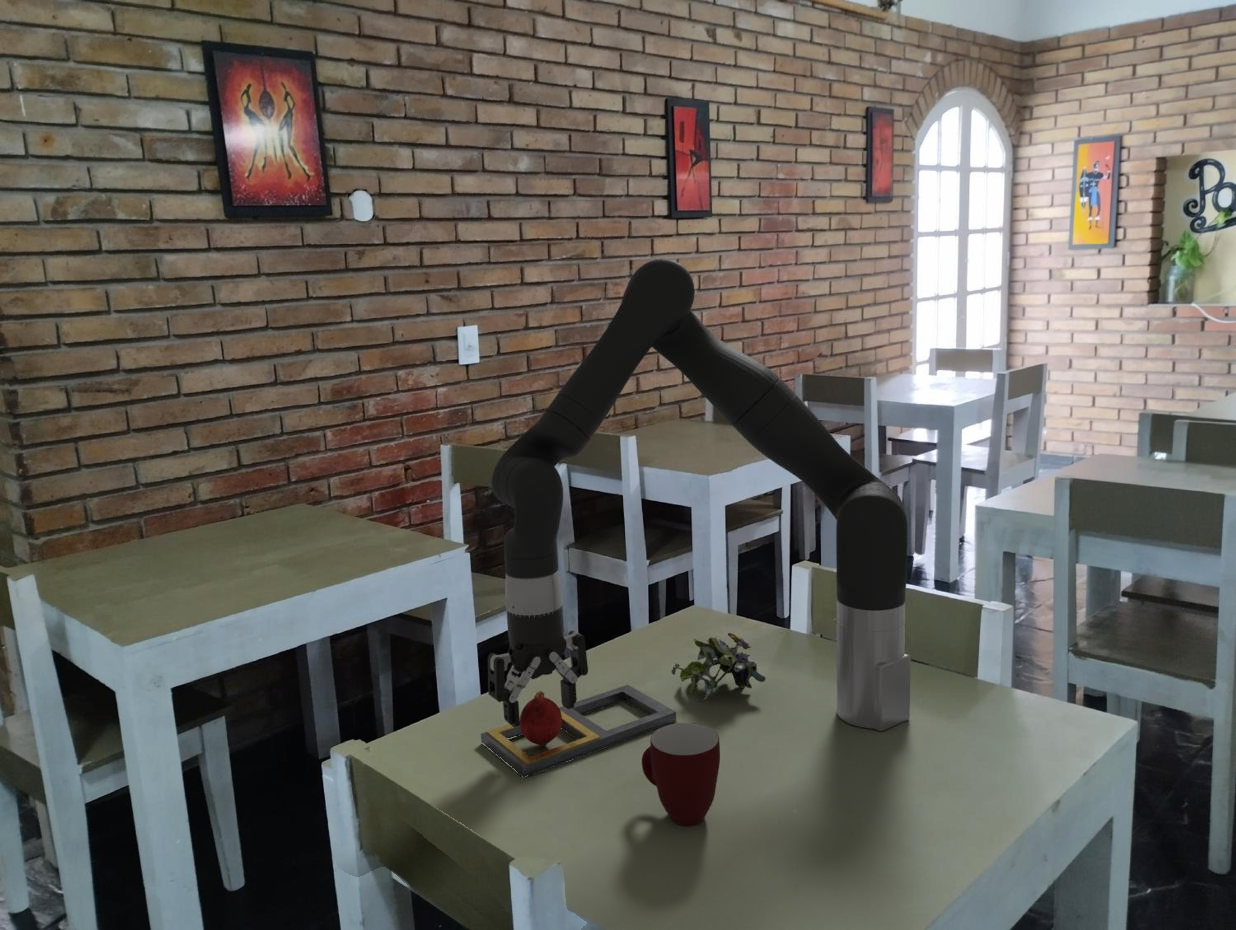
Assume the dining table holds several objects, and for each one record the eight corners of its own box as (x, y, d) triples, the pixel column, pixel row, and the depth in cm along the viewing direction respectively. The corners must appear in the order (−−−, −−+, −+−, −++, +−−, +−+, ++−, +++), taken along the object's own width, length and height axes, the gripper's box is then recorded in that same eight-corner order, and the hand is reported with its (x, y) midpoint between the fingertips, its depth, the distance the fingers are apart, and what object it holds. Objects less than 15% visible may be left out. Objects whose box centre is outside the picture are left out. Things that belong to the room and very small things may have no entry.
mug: (622, 817, 114) (618, 739, 112) (659, 786, 121) (656, 712, 119) (699, 843, 108) (697, 762, 106) (733, 809, 115) (732, 732, 113)
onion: (558, 757, 129) (553, 703, 127) (516, 755, 130) (512, 701, 128) (568, 735, 135) (564, 683, 133) (528, 733, 136) (524, 681, 134)
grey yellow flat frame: (676, 721, 138) (675, 710, 138) (523, 778, 124) (522, 766, 124) (628, 693, 148) (627, 683, 147) (481, 743, 134) (480, 732, 134)
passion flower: (739, 720, 149) (783, 668, 144) (696, 733, 141) (740, 679, 136) (696, 665, 155) (736, 613, 150) (652, 675, 147) (693, 621, 142)
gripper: (499, 623, 122) (508, 741, 125) (594, 598, 129) (600, 710, 133) (473, 608, 128) (482, 721, 131) (565, 585, 136) (571, 692, 139)
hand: (541, 715), depth 132 cm, fingers open, 8 cm apart
